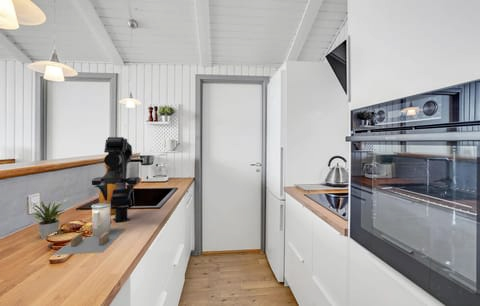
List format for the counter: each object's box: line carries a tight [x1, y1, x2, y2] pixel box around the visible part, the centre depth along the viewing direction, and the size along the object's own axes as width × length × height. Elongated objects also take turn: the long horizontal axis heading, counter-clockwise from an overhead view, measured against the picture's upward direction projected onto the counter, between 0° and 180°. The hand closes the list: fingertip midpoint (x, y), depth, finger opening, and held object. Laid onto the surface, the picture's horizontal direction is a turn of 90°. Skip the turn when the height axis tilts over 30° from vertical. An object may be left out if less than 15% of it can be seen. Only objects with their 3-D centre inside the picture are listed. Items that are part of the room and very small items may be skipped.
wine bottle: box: [98, 163, 117, 216], centre depth 135 cm, size 10×10×30 cm
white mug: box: [91, 202, 112, 237], centre depth 100 cm, size 9×7×12 cm
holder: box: [51, 228, 127, 256], centre depth 94 cm, size 24×16×4 cm, turn 7°
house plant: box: [27, 197, 68, 240], centre depth 99 cm, size 14×14×16 cm
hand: (116, 199), depth 110 cm, fingers open, 9 cm apart
